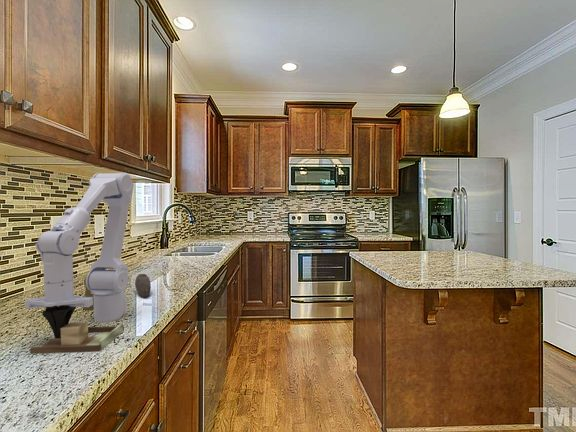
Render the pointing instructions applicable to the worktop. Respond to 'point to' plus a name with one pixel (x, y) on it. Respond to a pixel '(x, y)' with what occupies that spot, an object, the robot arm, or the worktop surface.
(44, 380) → the worktop surface
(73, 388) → the worktop surface
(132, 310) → the worktop surface
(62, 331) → the maple cube
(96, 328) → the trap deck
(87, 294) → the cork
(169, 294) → the worktop surface
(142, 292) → the perforated stone tool
